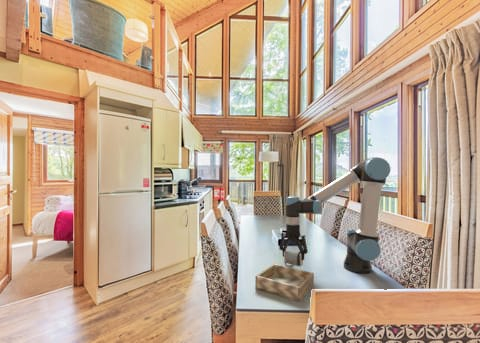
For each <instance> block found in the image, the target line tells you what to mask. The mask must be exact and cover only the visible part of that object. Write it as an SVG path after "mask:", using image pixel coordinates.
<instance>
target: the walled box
mask: <svg viewBox="0 0 480 343" xmlns="http://www.w3.org/2000/svg"><path fill="white" fill-rule="evenodd" d="M314 275H315V273H314V272H311V271H308V270H307V271H306V270H302V269H298V268H294V267H292V268H290V267H286V266H285V265H280V264H277V263H272V264H271V265H270V266H268V267H267V268H265V269H264V270H262V271H261V272H260V273H258V274H256V275H255V285H254V286H255V289H256V290H259V291H262V292H266V293H269V294H271V295H275V296H278V297H281V298H286V299H289V300H291V301H296V302H298V303H301V301H303V299H304V297H306V295H307V294H308V293H309V292H310V290H311V289H312V288H313V287H314V283H315V280H314V278H315V276H314ZM311 287H312V288H311ZM310 288H311V289H310Z"/></svg>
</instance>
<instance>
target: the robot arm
mask: <svg viewBox="0 0 480 343" xmlns="http://www.w3.org/2000/svg"><path fill="white" fill-rule="evenodd" d="M390 173H391V166H390V163H389V162H388V161H387V160H386V159H384V158H383V157H377V156H375V157H373V156H372V157H369V158H365V159H363V160H362V161H360V162H359V163H357V164H355V166H353V167H352V168H350V169H349V171H348V172H346V173H345V174H343V175H342V176H341V177H338V178H337V179H336V180H334V181H332V182H331V183H329V184H328V185H325V186H324V187H322V188H321V189H319V190H317V191H316V192H315V193H313V194H311V195H310V196H307V197H305V198H304V199H300V196H297V195H296V196H294V195H293V196H291V195H290V196H287V197H286V198H285V220H286V221H285V223H286V225H285V226H286V228H285V232H283V231H282V232H281V233H280V236H281V238H280V244H279V250H280V251H282V257H283V260H284V261H283V262H284V264H285V254H286V252H287V251H288V250H287V248H288V246H289V243H290V242H291V241H293V242H295V243H296V246H297V248H298V250H299V252H301V254H300V266H299V267H303V265H304V261H305V255H306V254H307V253H308V252H309V251H308V246H307V242H306V241H307V240H306V235H305V234H301V224H300V223H301V222H300V221H301V220H300V219H301V218H300V216H301V215H302V214H305V215H306V214H307V215H313V214H314V215H320V214H322V212H323V204H324V203H325V202H327V201H329V200H330V199H332V198H334V197H335V196H337V195H339V194H340V193H343V191H346V190H347V189H349V188H351V187H352V186H354V185H355V184H360V183H362V185H363V188H362V196H361V203H360V204H361V205H360V213H359V221H358V228H349V229H347V233H346V255H345V259H344V261H343V268H345V269H346V270H347V271H350V272H353V273H358V274H369V273H372V272H373V266H372V262H371V261H375V260H376V259H378V257H380V255H381V252H382V250H381V249H382V248H381V245H380V243H379V240H380V235H379V234H378V232H377V230H378V228H377V227H378V221H379V212H380V205H381V204H380V202H381V197H382V196H381V195H382V188H383V186H385V185H386V182H387V177H389V175H390ZM300 214H301V215H300ZM286 237H287V238H286ZM285 238H286V240H285ZM300 239H301V240H300Z"/></svg>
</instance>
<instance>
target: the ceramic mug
mask: <svg viewBox="0 0 480 343" xmlns="http://www.w3.org/2000/svg"><path fill="white" fill-rule="evenodd" d="M286 251H287V252H286V254H285V263H284V266H286V267H290V268H294V267H295V266H296V267H301V266H300V254H301V252H300V251H297V250H286Z"/></svg>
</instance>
